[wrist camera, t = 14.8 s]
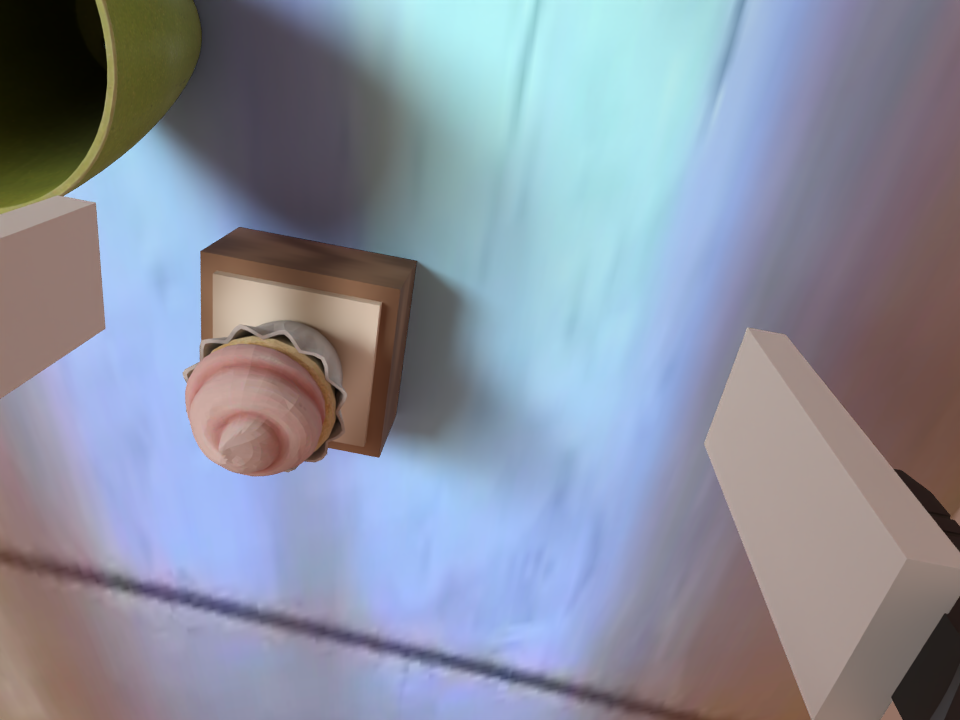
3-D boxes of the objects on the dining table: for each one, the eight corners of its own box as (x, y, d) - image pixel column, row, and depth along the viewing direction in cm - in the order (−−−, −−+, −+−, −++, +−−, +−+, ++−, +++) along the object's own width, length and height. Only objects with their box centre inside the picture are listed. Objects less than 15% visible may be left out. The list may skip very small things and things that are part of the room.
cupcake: (290, 262, 40) (215, 329, 31) (397, 378, 42) (358, 471, 33) (187, 351, 43) (92, 435, 34) (293, 454, 45) (231, 558, 36)
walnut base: (236, 384, 51) (198, 428, 45) (239, 226, 46) (195, 254, 40) (396, 414, 51) (377, 462, 45) (416, 261, 46) (398, 293, 40)
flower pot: (291, 145, 43) (163, 201, 29) (73, 168, 45) (-150, 232, 30) (228, -143, 37) (25, -256, 22) (-22, -103, 39) (-359, -184, 24)
